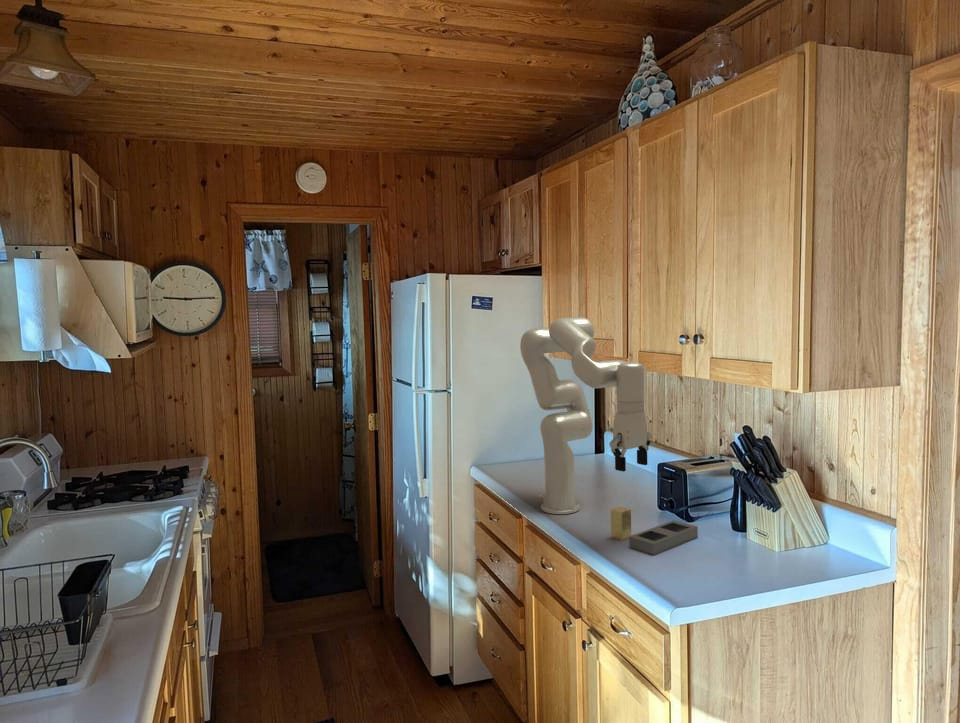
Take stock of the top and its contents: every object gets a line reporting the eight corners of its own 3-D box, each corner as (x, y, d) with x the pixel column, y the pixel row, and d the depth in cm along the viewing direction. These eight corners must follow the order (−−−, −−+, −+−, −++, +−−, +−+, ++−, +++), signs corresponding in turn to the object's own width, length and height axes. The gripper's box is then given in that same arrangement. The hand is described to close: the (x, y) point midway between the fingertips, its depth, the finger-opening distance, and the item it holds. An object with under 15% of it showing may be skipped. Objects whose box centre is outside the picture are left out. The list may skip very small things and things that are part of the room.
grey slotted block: (629, 547, 185) (629, 536, 185) (673, 530, 198) (673, 520, 197) (653, 555, 179) (653, 544, 179) (697, 537, 191) (697, 526, 191)
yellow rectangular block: (611, 536, 194) (610, 509, 193) (620, 533, 197) (619, 506, 196) (622, 540, 191) (621, 512, 190) (631, 536, 193) (630, 509, 193)
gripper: (638, 402, 198) (639, 460, 199) (599, 409, 187) (600, 470, 188) (660, 404, 192) (661, 464, 193) (621, 412, 181) (622, 475, 182)
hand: (631, 467), depth 191 cm, fingers open, 9 cm apart
